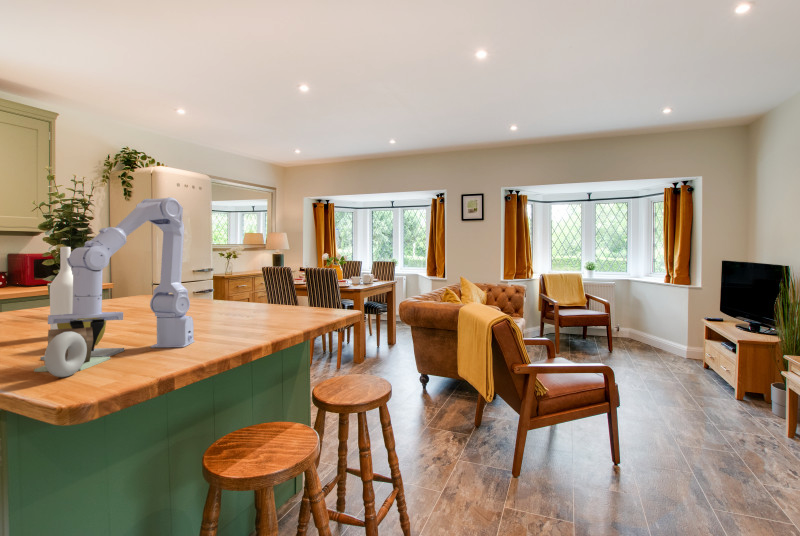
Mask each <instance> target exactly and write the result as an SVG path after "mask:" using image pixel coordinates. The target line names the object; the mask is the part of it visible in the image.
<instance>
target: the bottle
mask: <svg viewBox="0 0 800 536" xmlns="http://www.w3.org/2000/svg"><path fill="white" fill-rule="evenodd" d="M71 247H72V246H60V247H59V248H60V251H59V254H60V257H59V258H60V267H59V272H58V273H57V275H56V276H55V278H54V279H53V280H52V281H51V283H50V285H49V315H61V314H72V305H73V275H72V269H71V267H70V266H69V265H68V263H67V258H69V256H70V254H71V252H72V250H71V249H72V248H71ZM49 325H50V329H49V330H52V329H58V327H57V323H55V324H49Z"/></svg>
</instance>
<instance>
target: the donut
mask: <svg viewBox="0 0 800 536" xmlns="http://www.w3.org/2000/svg"><path fill="white" fill-rule="evenodd" d="M67 348H68V356H67V359H66V360H65V353H66V350H67ZM86 354H87V346H86V342H85V340H84V338H83V337H82V336H81V335H80V334H78V333H76V332H72V331H70V332H63V333H61V334H59V335H57V336H55V337H54V338H53V339H52V340H51V342H50V343H49V345H48V344H47V345H46V349H45V352H44V356H45V358H44V360H43V361H44V366H46V368H47V370H48V371H47V372H49V374H51V375H52V376H53V377H57V378H65V377H66V378H67V377H70V376H72V375H74V374H76V373H77V372H79V371H78V370H79V369H80V368H81V366H82V365H83V363H84V361H85V358H86Z"/></svg>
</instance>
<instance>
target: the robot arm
mask: <svg viewBox="0 0 800 536" xmlns="http://www.w3.org/2000/svg"><path fill="white" fill-rule="evenodd" d="M183 207H184V206H182V205H181V204H180V202H179V201H178V200H177V199H176V198H174V197H172V196H171V197H164V198H145V199H143V200H142V201H140V202H139V203H137V204H136V206H135V208H134V209H133V210H132V211H130V213H128V214H127V215H126V216H125V217H124V218H123V219H122V220H121V221H120V222H119V223H118V224H117V225H116V226H114V227H113V226H108V227H102V228H100V229H99V230H98V232H99V233H98V234H97V235H96V236H94V237H93V238H92V239H90V240H87V241H85V242H84V245H83V246H81V247H76V248H74V249H73V250H71V254H70V256H69V258H67V263H68V265H69V266H70V267H71V270H72V275H73V305H72V314H61V315H50V314H48V315H47V325H50V324H55V323H70V326H71V327H72V329H78V328H84V325H83V322H89V321H92V322H91V323H90V327H92V330H93V345H92V351H94V348H95V346H96V345H95V343H96V340H97V338H98V335H99V333H100V331H101V330H102V328H103V326H104V324H105V322H104V321H106V322H107V321H122V320H124V312H123V311H106V312H105V311H103V308H102V307H103V273H104V271H103V269H105V268H106V267H108V266H109V263H110V258H111V257H112V256H114V254H116V253H117V252H118V251H119V250H121V248H122V247H124V246H125V245H126V244H127V242H128V241H127V237H128V236H129V235H130V234H132V233H133V232H134V231H136V230H137V229H138V228H140V227H141V226H142V225H144V224H145V223H146V222H150V223H151V224H153V225H155V226H156V227H158V228H159V229H160V230H161V231H162V247H161V250H162V251H161V263H160V264H161V267H160V282H159V284H158V285H157V286H156V287H154V289H153V295H152V296H151V299H150V302H149V306H150V310H151V311H152V312H153V313H154V317H156V343H155V344H152V345H150V348H151V349H152V348H153V349H154V348H157V349H160V348H184V347H187V346H189V345H191V344H193V343H195V339H194V334H195V333H194V331H195V330H194V319H193V317H192V316H191V315H190V316H189V315H187V313H188V311H189V309H190V307H191V301H190V298H189V290H188V289H187V287H185V286H184V285H183V284H182V275H183V274H182V271H183V258H184V255H183V253H184V239H185V238H184V237H185V225H184V221H183V217H184V216H183V215H184V214H183V213H184V208H183ZM79 318H102V319H85V320H78V319H79Z"/></svg>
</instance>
